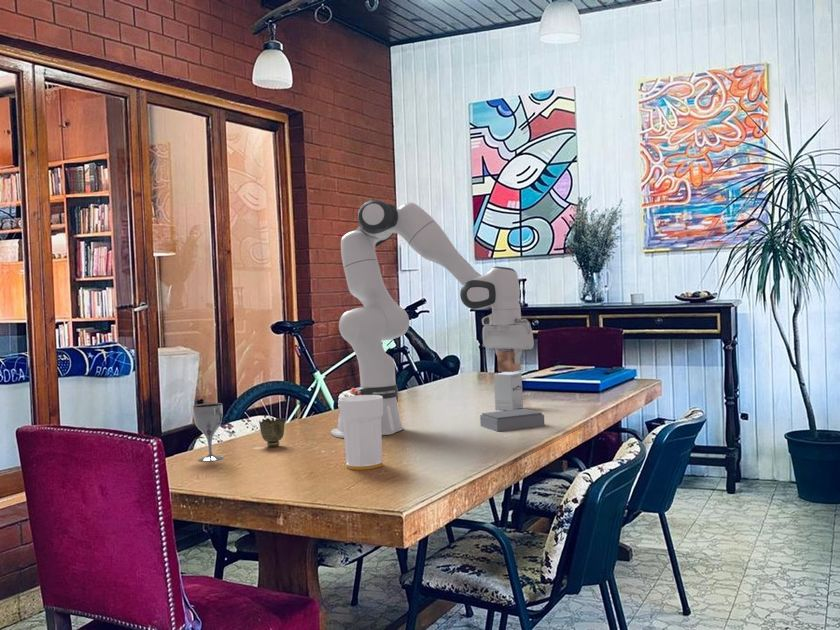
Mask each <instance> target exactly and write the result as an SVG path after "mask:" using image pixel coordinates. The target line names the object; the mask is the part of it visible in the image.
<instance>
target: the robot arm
mask: <svg viewBox="0 0 840 630" xmlns="http://www.w3.org/2000/svg"><path fill="white" fill-rule="evenodd" d="M357 222H358V224H359V225H358V226H357V228H356V229H355V230H351V231H349V232H347V233H346V234H344V235H343V236H342V237H341V239H340V253H341V262H342V266H343V271H344V275H345V280H346V285H347V287H348V292H349V293H350V295H351V296H353V297H355V298H356V299H357V300H359V302H360V303H361V304H362V305H363V307H356V308H353V309H350V310H347V311H345V312H344V313H342V315H341V316H340V319H339V322H338V331H339V333H340V335H341V337H342V338H343V339H344V341H346V342H347V343H348V344H349V345H350V346H351V347H352V349H353V352H354V353H355V355H356V359H357V362H358V368H359V383H360V386H359V387H357V388H356V387H351V389H350V391H349V392H350V393H351V394H352V395H353V396H356V395H380V396H382V397H383V415H382V417H381V434H382V436H386V435H393V434H395V433H397V432H401V431H402V430H403V429H404V426H403V424H402V421H401V415H400V410H399V406H398V402H399V390H398V384H396V365H395V363H396V362H395V361H394V358H393V357H392V356H391V355H390V354H388V353H386V350H385V349H384V347H383V342H384V341H391V340H394V339H397V338H399V337H402V336H404V335H405V334H406V333H407V332H408V330H409V327H410V318H409V313H407V311H406V310H405V309H404V308H402V307H401V306H400V305H399V304H398V303H397V302H396V301H395V300H394V298H393V297H392V296H391V295H390V292H389V290H388V289H387V286H386V285H385V282H384V279H383V276H382V272H381V267H380V264H379V261H378V256H377V252H376V247H378V246H380V245H382V244H383V243H385V242H387V241H388V240H390V239H391V238H392V237H393V236H394V235H395V234H397V235H399V236H400V237H401V238H403V239H404V240H405V241H406V242H407V244H408V245H409V246H410V247H411V248H412V249H413V250H414V251H415V252H416V253H417V254H418V255H420V256H421V257H422V258H423V259H426V260H427V261H429V262H433V263H435V264H438V265H440V266H442V267H443V268H444V269H446V270H447V271H448V272H449V273H451V275H452V276H453V277H454V278H455V279H456V280H457V281H458V282H459V283H460V285H462V286H461V289H460V293H459V295H460V300H461V302H462V303H463V305H464V306H465V307H467V308H468V309H470V310H475V311H476V310H478V311H479V310H481V311H483V310H490V309H491V313H490V314H488V315H487V316H485V317H483V318H481V323H482V325H483V327H482V345H483V346H484V348H485V349H494V353H495V355H496V356H497V352H502V351H504V350H513V351H514V353H515V357H514V358H512V360H513V364H520V362H521V356H522V355H523V350H524V351H525V350H532V349H534V346H535V342H534V341H535V340H534V334H533V328H532V327H531V323H530V321H529V320H528V319H527V318H522V312H521V309H522V308H521V304H520V295H521V293H520V291H521V290H520V283H519V275H518V273H517V271H516V270H515V269H514V268H511V267H507V266H506V267H505V266H496V265H495V266H492V268H491V269H489V270H488V271H487V272H485V273H484V274H482V275H481V274H480V273H479V272H477V270H475V269H474V267H472V265H471V264H470V263H469V262H468V261H467V260H466V259H465V258H464V257H463V256H462V255H461V253H460V252H459V251H458V250H457V249H456V247H455V245H453V242H452V241H451V240H450V238H449V237H448V236H447V234H446V233H445V231H444V230H443V229H442V228H441V226H440V225H439V224H438V223H437V221H436V220H435V219H434V218H433V217H432V216H431V215H430V214H428V213H427V212H426V211H425V209H423V208H422V207H421V206H419V205H418V204H417V203H414V202H410V201H409V202H406V203H403V204H401V205H400V206H399V207H397V208H396V205H394V204H392V203H391V204H390V203H388V202H385V201H382V200H378V199H371V200H367V201H365V202H364V203H363V204H362V205H361V206H360V207H359V209H358V213H357ZM382 341H383V342H382ZM330 434H331V436H333V437H336V438H341V439H344V430H343V419H342V418H341V417H340V414H339V415H338V421H337V428H333V429H331V431H330Z"/></svg>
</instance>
